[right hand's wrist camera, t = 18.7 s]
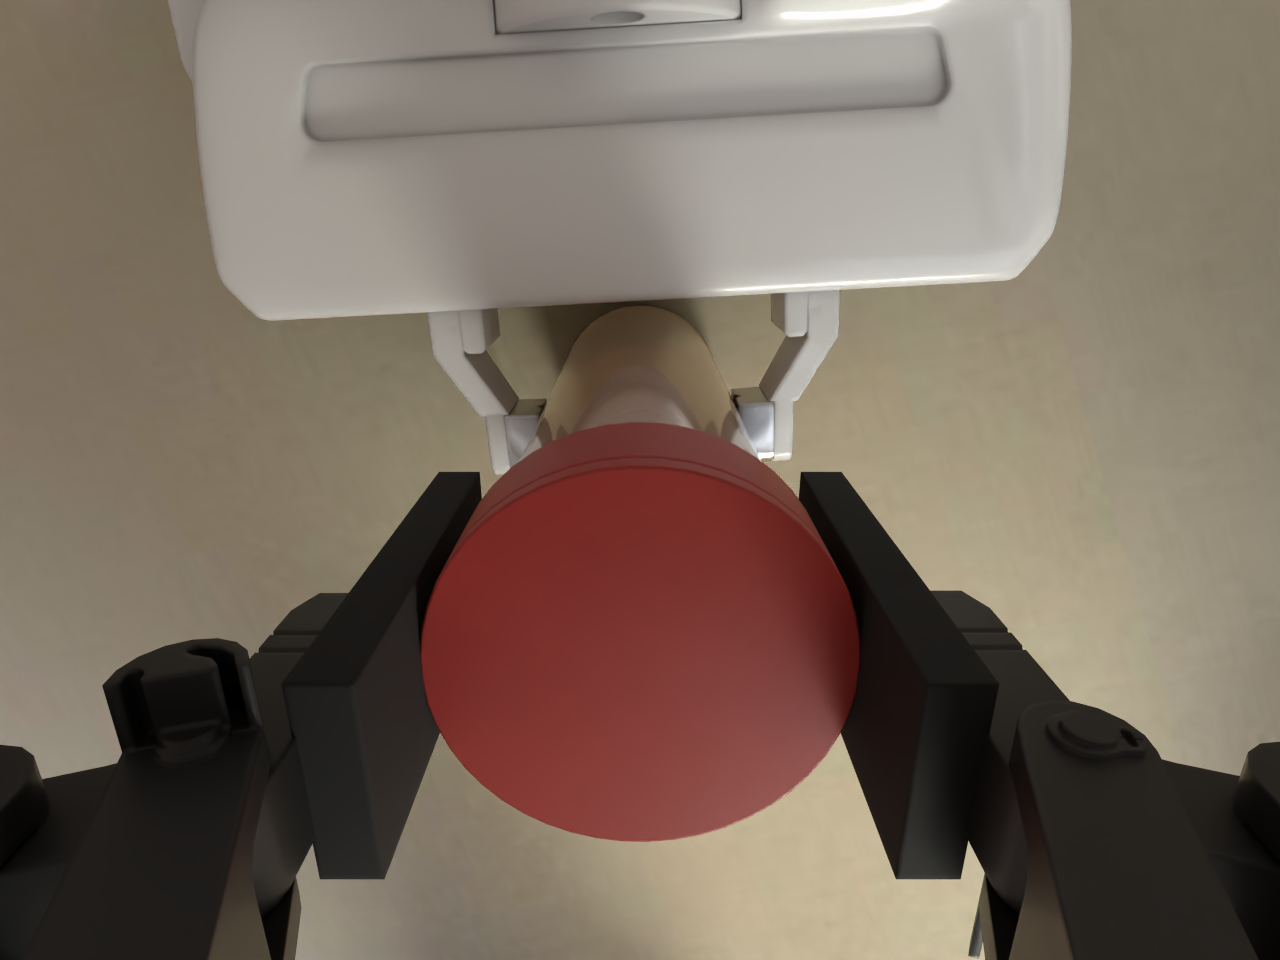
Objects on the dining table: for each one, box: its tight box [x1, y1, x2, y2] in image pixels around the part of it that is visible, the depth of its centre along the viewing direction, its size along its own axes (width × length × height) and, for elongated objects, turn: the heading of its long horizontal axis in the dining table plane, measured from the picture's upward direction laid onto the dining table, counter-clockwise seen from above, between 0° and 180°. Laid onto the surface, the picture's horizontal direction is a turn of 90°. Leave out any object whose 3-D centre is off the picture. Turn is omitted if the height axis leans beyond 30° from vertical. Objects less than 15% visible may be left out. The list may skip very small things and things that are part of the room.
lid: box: [420, 422, 861, 842], centre depth 11 cm, size 6×6×2 cm
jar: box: [520, 305, 761, 461], centre depth 19 cm, size 5×5×17 cm
